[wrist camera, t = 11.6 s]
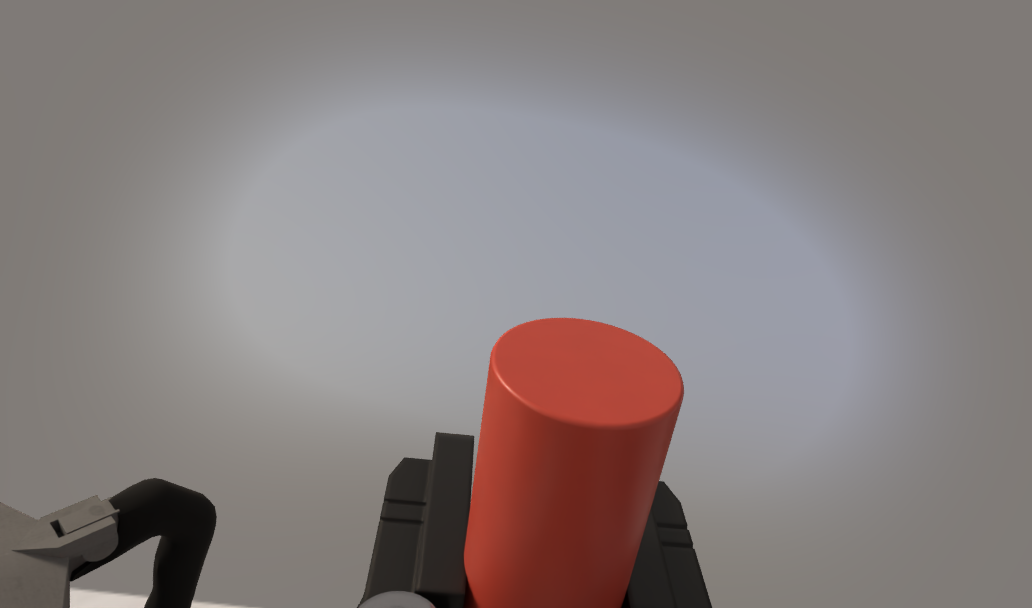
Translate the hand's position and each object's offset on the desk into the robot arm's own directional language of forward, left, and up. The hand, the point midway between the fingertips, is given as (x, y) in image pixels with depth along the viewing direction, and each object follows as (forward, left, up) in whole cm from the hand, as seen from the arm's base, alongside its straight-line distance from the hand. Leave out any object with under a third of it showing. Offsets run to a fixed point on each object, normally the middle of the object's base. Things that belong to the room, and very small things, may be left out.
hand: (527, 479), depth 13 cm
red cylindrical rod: (+1, -3, -9) cm, 10 cm away
